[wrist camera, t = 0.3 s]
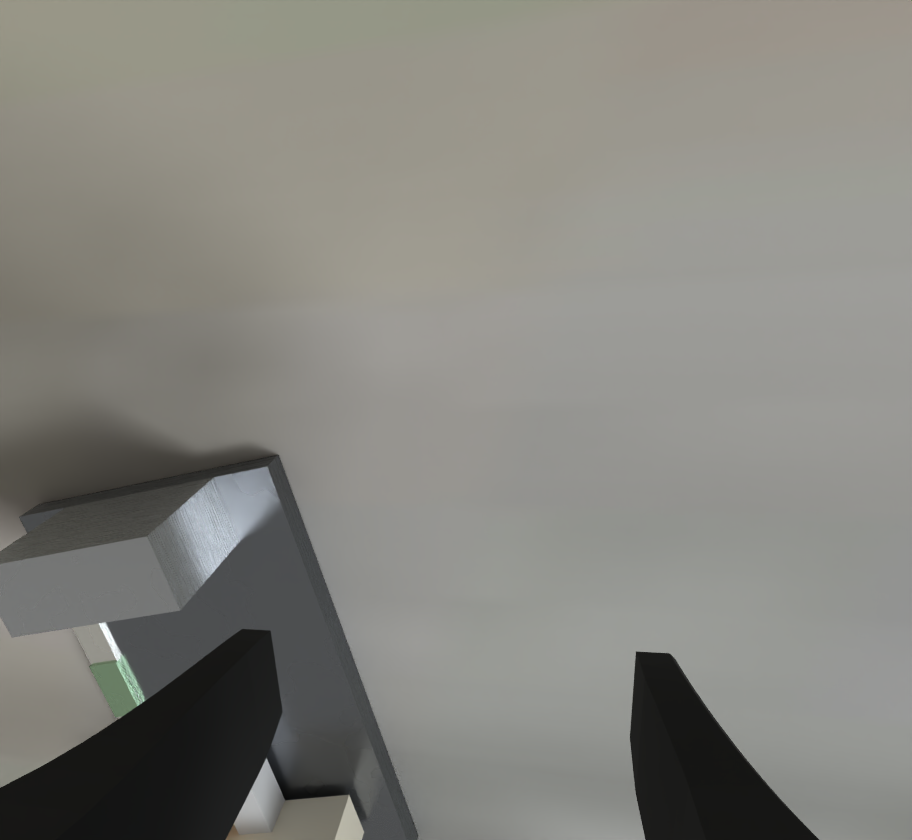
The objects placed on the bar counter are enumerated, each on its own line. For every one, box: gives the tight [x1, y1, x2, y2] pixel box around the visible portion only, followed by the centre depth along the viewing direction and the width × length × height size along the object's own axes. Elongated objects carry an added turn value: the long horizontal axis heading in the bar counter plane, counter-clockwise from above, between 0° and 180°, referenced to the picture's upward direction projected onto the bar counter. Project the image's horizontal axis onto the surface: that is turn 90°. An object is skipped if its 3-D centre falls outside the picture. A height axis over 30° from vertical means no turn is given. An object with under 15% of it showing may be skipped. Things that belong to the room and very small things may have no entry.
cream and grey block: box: [226, 758, 364, 840], centre depth 25 cm, size 6×7×3 cm
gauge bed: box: [0, 455, 418, 840], centre depth 24 cm, size 18×10×5 cm, turn 15°
